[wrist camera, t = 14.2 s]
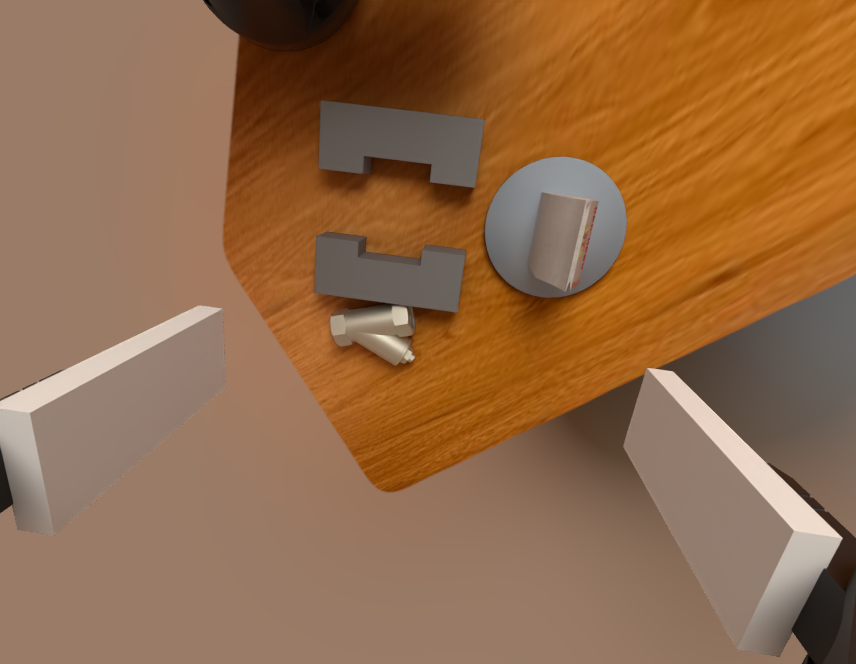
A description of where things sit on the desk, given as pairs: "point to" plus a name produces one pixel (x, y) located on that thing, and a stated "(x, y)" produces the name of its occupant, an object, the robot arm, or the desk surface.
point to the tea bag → (561, 238)
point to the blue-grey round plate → (518, 213)
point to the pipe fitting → (377, 330)
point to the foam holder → (352, 152)
